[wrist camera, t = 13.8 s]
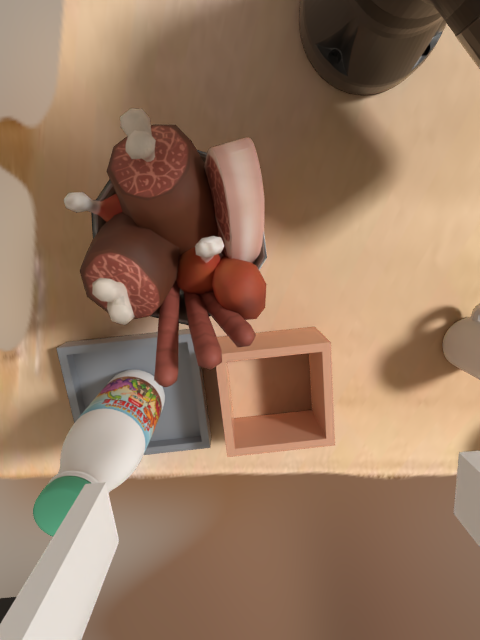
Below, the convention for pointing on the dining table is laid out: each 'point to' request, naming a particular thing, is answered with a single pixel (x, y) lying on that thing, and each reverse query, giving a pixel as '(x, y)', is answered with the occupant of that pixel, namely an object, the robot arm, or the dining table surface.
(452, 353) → the cup
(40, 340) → the dining table surface
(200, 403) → the tray
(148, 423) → the milk bottle
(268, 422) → the deep holder
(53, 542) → the robot arm
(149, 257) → the bucket of meat
